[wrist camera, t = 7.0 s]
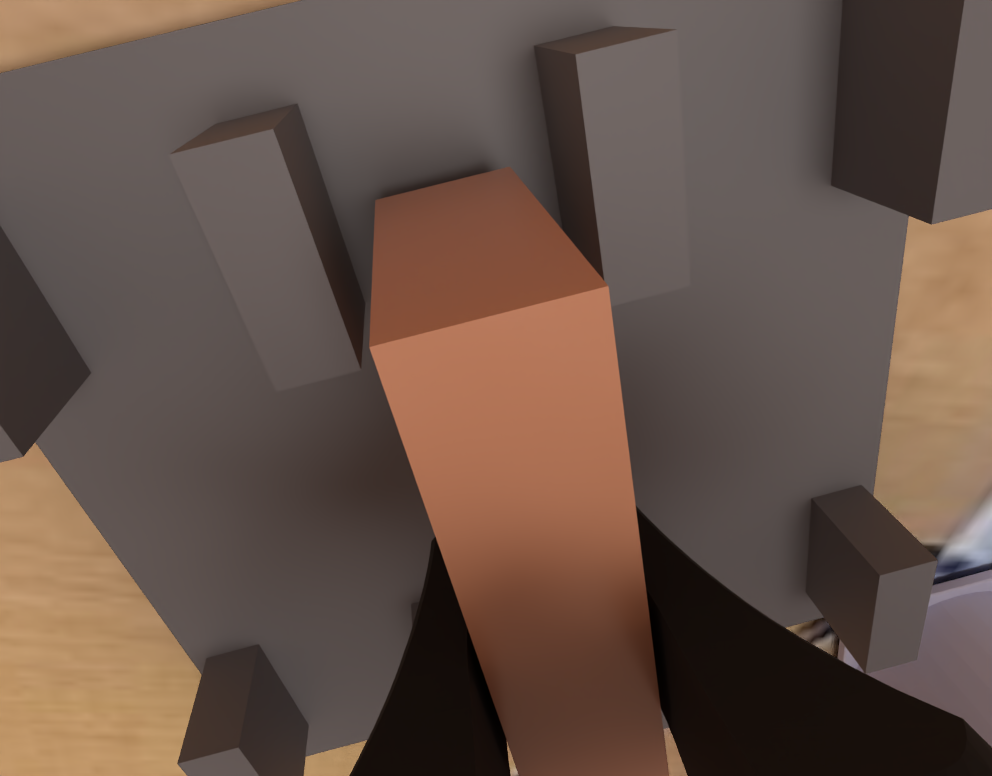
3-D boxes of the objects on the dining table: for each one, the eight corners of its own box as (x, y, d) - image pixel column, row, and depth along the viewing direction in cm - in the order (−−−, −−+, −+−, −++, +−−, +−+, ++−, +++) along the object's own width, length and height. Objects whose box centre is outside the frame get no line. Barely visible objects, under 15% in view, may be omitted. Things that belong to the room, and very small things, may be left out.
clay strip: (601, 650, 19) (682, 887, 14) (518, 672, 19) (569, 919, 14) (509, 166, 12) (608, 285, 7) (375, 199, 12) (368, 347, 7)
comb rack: (840, 584, 22) (922, 688, 19) (272, 737, 22) (251, 871, 18) (915, -146, 12) (1126, -209, 9) (-153, 112, 12) (-378, 154, 8)
